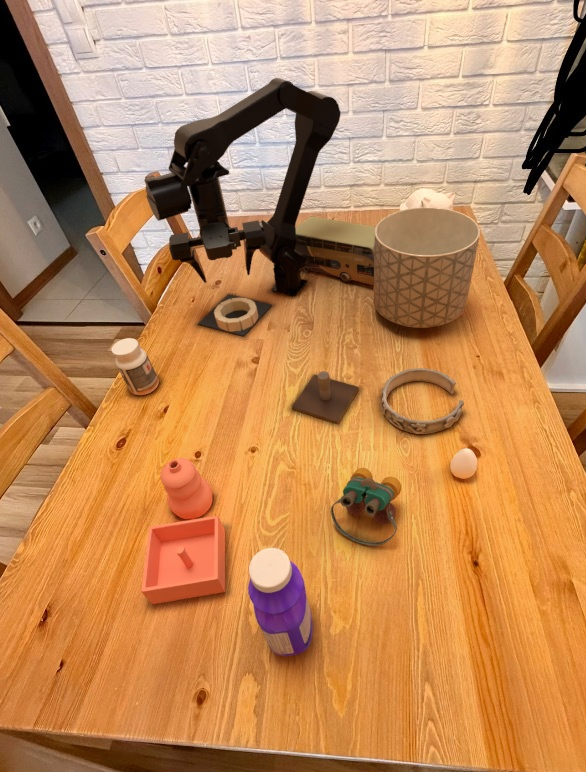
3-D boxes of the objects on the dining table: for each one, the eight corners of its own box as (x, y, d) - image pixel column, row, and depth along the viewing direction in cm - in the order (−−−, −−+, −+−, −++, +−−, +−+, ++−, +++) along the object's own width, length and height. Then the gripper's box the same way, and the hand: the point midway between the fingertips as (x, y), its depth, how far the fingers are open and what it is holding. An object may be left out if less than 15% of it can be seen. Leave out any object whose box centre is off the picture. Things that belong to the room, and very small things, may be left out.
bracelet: (404, 369, 86) (405, 356, 84) (474, 396, 81) (477, 383, 78) (366, 415, 79) (366, 403, 77) (439, 448, 73) (442, 436, 71)
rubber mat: (228, 295, 108) (228, 294, 108) (272, 305, 104) (272, 304, 103) (198, 324, 101) (197, 323, 101) (243, 337, 97) (243, 335, 96)
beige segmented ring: (235, 302, 105) (233, 293, 103) (266, 314, 101) (264, 304, 99) (208, 323, 100) (205, 314, 98) (239, 336, 96) (237, 327, 94)
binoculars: (397, 539, 66) (413, 476, 63) (381, 572, 58) (397, 502, 55) (337, 517, 69) (349, 456, 66) (313, 546, 61) (326, 478, 58)
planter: (361, 330, 95) (360, 248, 82) (387, 281, 107) (391, 202, 93) (454, 347, 90) (469, 262, 76) (471, 294, 101) (487, 212, 88)
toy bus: (377, 291, 104) (376, 249, 97) (293, 272, 114) (287, 233, 107) (397, 270, 109) (397, 228, 102) (315, 253, 119) (310, 215, 112)
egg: (472, 485, 68) (479, 463, 64) (447, 478, 70) (452, 456, 66) (476, 465, 71) (482, 443, 67) (451, 459, 72) (456, 437, 68)
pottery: (225, 591, 60) (206, 559, 53) (152, 604, 60) (123, 572, 53) (224, 479, 72) (209, 440, 65) (164, 489, 72) (142, 450, 65)
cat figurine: (388, 230, 123) (391, 163, 111) (427, 225, 124) (434, 158, 111) (414, 280, 106) (421, 207, 94) (458, 273, 107) (471, 201, 94)
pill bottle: (163, 376, 90) (145, 335, 83) (153, 397, 86) (134, 356, 79) (136, 375, 91) (116, 335, 84) (125, 396, 87) (103, 356, 80)
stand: (314, 377, 87) (312, 352, 82) (358, 389, 84) (358, 365, 79) (292, 409, 82) (287, 385, 77) (338, 424, 78) (336, 399, 74)
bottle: (267, 600, 59) (240, 536, 46) (311, 595, 59) (296, 530, 46) (267, 662, 54) (238, 609, 41) (315, 657, 54) (300, 602, 41)
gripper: (158, 231, 80) (184, 307, 92) (263, 213, 82) (275, 290, 94) (159, 205, 88) (182, 278, 99) (255, 189, 89) (268, 263, 101)
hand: (227, 278), depth 98 cm, fingers open, 9 cm apart
